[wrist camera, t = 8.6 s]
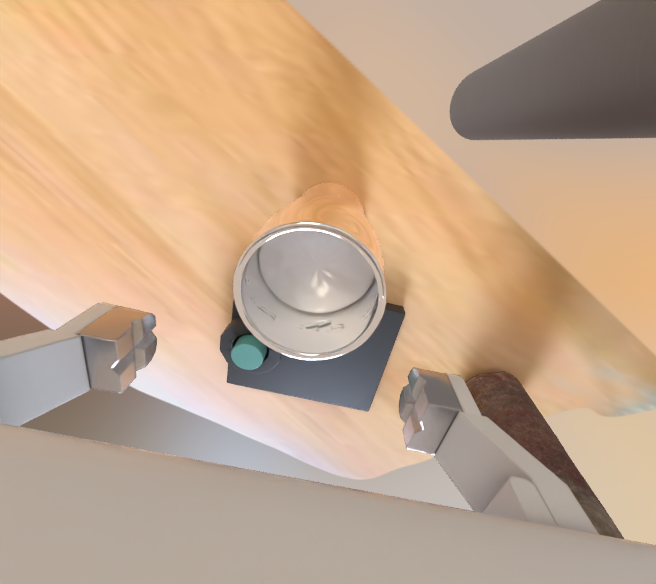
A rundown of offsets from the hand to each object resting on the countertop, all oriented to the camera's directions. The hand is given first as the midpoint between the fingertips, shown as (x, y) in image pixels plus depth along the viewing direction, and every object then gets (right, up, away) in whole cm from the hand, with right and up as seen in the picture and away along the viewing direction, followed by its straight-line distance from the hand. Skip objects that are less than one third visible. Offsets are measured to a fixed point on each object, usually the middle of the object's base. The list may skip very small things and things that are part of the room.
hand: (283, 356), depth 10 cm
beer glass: (+2, +8, +17) cm, 19 cm away
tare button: (-6, -3, +20) cm, 21 cm away
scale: (0, -3, +23) cm, 23 cm away
